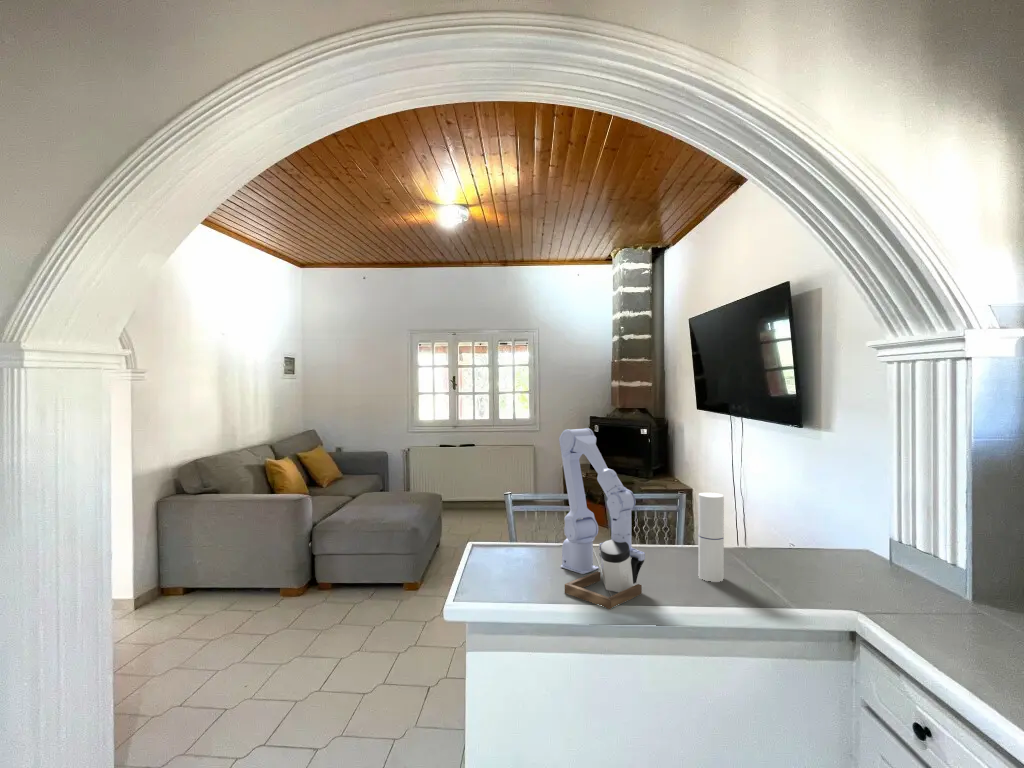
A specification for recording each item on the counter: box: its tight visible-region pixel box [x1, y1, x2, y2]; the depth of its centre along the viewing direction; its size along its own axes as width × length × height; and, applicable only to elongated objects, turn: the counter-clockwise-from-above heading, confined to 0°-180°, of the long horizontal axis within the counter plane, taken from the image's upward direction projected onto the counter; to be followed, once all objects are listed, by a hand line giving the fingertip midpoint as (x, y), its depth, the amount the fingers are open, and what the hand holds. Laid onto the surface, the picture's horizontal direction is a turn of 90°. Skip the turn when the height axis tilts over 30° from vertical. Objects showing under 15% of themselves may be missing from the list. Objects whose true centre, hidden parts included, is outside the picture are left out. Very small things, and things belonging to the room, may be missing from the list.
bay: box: [564, 570, 643, 610], centre depth 154 cm, size 15×15×2 cm
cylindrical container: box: [697, 491, 725, 583], centre depth 166 cm, size 7×7×25 cm
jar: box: [599, 539, 634, 593], centre depth 157 cm, size 9×8×12 cm
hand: (621, 579), depth 160 cm, fingers open, 7 cm apart
